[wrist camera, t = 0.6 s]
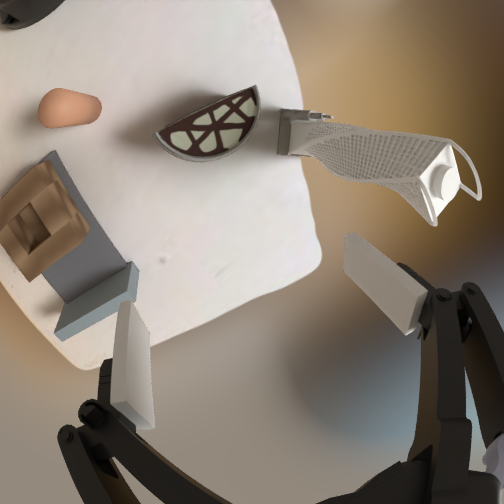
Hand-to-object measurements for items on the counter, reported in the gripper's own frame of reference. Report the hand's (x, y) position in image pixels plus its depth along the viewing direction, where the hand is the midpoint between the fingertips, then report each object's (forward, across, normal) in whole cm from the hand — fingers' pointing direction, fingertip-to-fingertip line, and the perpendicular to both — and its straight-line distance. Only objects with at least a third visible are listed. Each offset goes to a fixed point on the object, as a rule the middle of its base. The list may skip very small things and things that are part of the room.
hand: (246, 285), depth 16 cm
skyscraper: (+26, +17, +3) cm, 31 cm away
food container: (+26, +3, +7) cm, 27 cm away
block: (+24, -24, +3) cm, 34 cm away
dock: (+26, -23, -1) cm, 35 cm away
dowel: (+26, -12, +15) cm, 32 cm away
